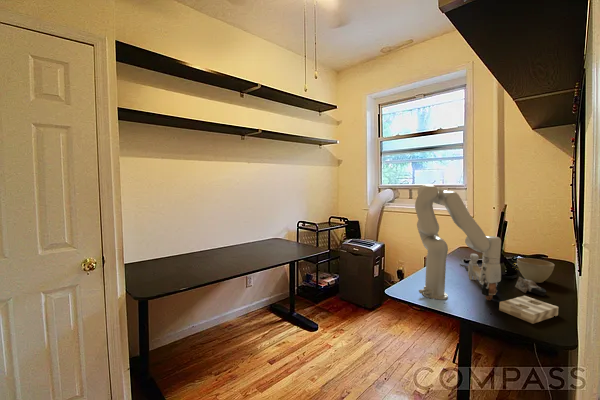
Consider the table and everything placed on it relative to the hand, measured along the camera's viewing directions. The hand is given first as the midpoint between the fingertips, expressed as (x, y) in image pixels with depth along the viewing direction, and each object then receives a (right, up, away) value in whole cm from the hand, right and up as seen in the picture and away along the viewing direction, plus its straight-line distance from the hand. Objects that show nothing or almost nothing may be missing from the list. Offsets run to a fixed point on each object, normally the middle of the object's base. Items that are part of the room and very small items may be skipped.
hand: (489, 293), depth 148 cm
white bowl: (+49, -2, +31) cm, 58 cm away
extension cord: (+59, -1, +59) cm, 84 cm away
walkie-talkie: (+22, -1, +50) cm, 54 cm away
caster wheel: (+31, -3, +11) cm, 33 cm away
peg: (0, -3, 0) cm, 3 cm away
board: (+9, -4, -14) cm, 17 cm away
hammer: (+8, -2, +20) cm, 22 cm away
